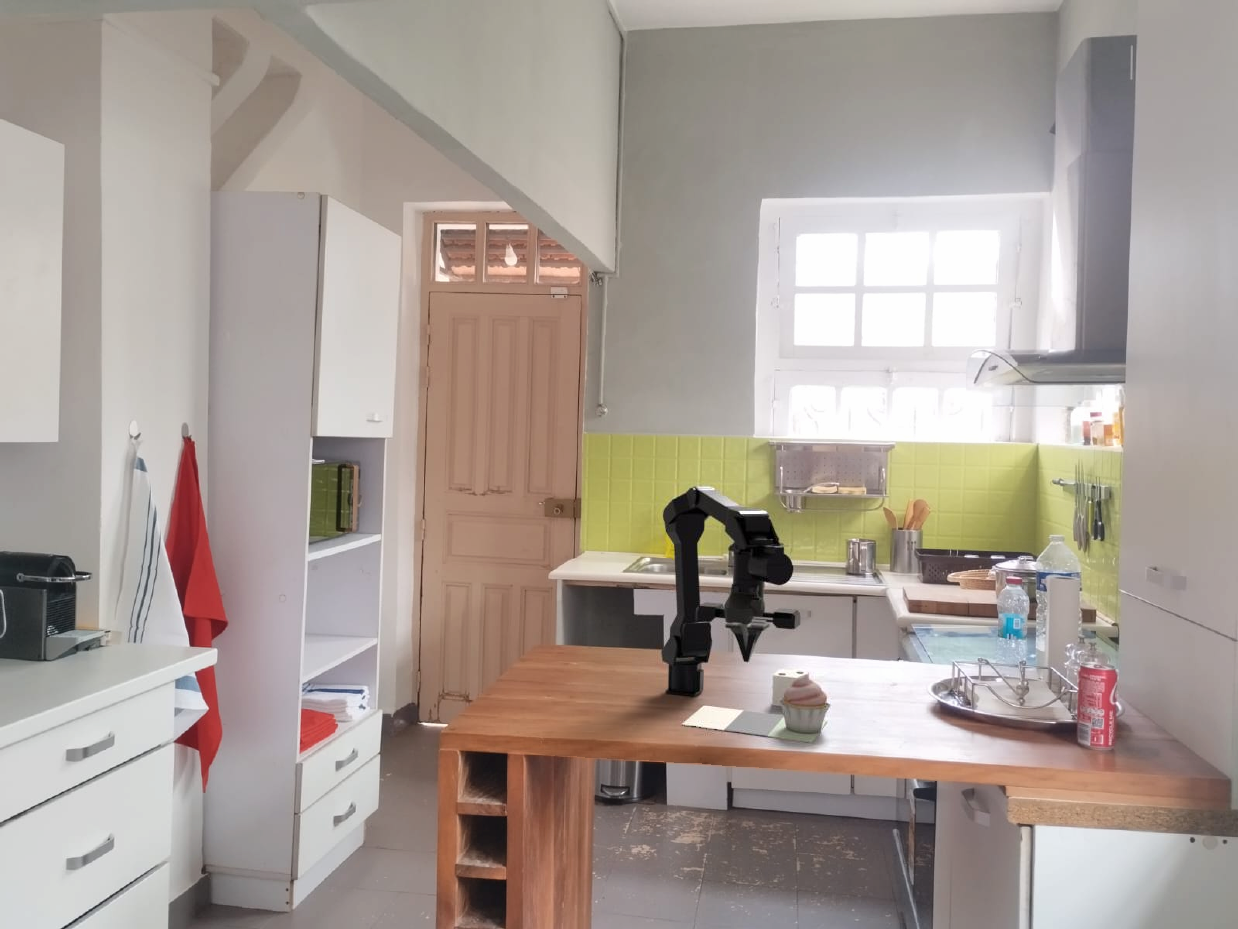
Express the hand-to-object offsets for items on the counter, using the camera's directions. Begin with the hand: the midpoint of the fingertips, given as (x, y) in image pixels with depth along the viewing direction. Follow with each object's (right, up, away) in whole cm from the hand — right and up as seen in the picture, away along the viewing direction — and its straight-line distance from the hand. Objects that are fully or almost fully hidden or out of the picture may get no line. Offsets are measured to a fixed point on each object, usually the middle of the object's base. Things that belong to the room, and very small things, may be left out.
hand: (746, 661), depth 181 cm
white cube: (+11, -11, +14) cm, 21 cm away
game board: (+2, -11, 0) cm, 12 cm away
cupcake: (+10, -12, -4) cm, 16 cm away
